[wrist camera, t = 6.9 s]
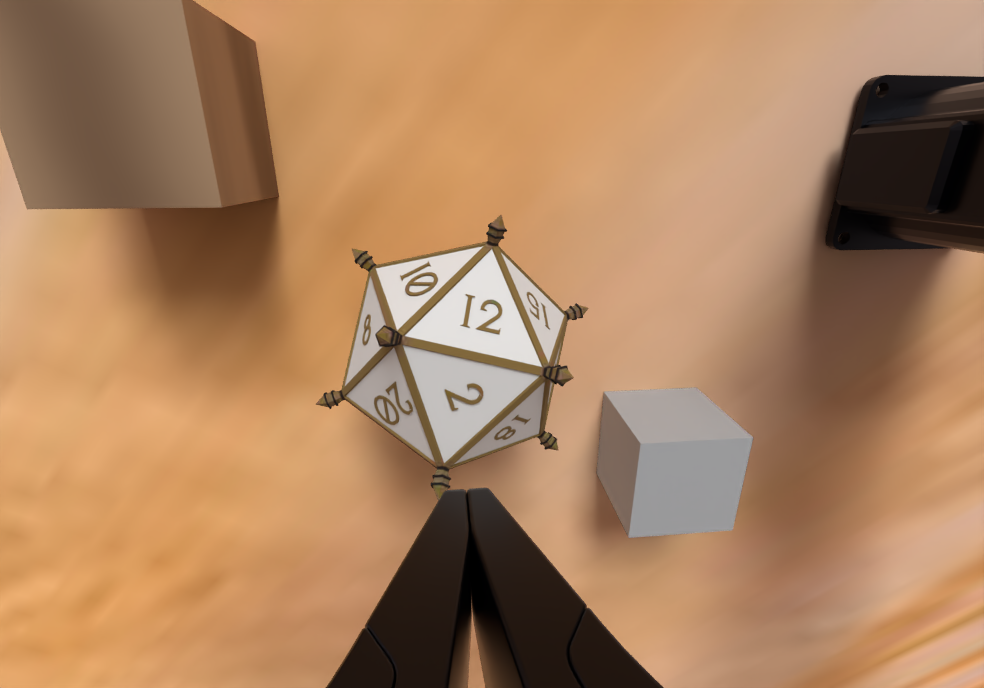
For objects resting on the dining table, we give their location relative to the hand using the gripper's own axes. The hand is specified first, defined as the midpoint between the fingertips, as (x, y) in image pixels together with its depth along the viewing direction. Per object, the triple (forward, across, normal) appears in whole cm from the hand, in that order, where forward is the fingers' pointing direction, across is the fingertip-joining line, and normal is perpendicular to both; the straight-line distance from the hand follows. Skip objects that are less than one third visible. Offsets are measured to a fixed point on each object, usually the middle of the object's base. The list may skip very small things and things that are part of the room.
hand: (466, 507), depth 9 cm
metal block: (+12, +9, -8) cm, 17 cm away
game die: (+12, 0, 0) cm, 12 cm away
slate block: (+12, -9, +6) cm, 16 cm away
